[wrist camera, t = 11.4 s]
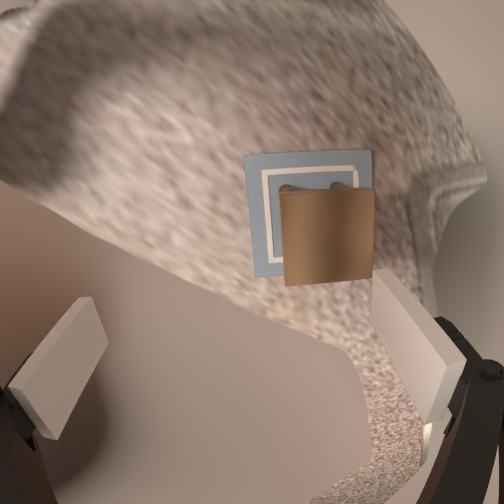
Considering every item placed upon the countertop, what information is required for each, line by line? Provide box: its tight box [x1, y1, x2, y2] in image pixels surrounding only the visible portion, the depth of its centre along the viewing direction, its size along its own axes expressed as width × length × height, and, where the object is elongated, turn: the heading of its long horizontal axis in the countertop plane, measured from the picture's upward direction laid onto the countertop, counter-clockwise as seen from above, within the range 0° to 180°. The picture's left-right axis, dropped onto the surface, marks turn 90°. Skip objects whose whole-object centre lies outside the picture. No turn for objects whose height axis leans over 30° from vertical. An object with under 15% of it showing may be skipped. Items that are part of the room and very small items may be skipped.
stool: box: [278, 181, 375, 286], centre depth 30 cm, size 8×8×9 cm
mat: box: [244, 150, 372, 278], centre depth 35 cm, size 14×14×1 cm
